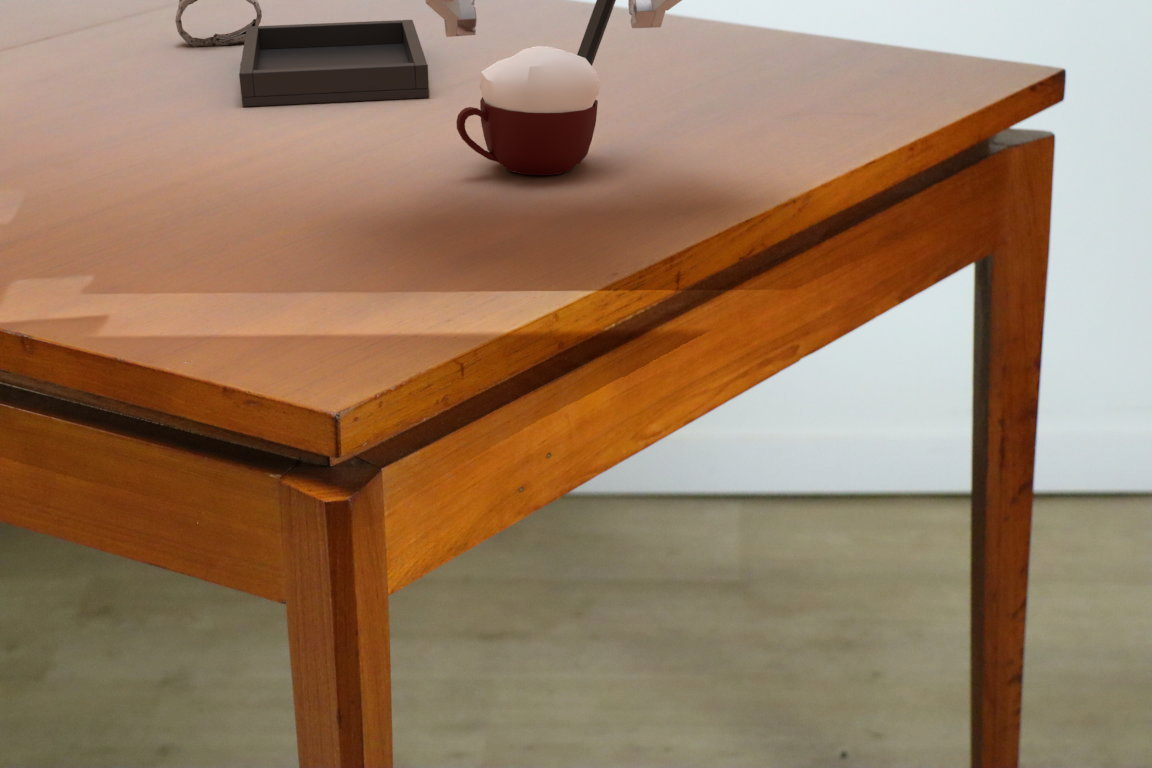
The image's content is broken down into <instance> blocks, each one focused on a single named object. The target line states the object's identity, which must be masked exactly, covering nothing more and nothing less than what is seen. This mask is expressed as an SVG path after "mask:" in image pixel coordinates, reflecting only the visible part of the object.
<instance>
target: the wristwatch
mask: <svg viewBox="0 0 1152 768" xmlns="http://www.w3.org/2000/svg"><path fill="white" fill-rule="evenodd" d="M245 1H246V2H247V3H249V4H251V5H253V8H254V10H255V12H256V13H255V14H256V17H255V18H253V19H252V20H251V22H249V23H248V24H246V25H245V26H243V27H242V28H240V29H237V30H235V31H233V32H229V33H228V32H227V33H220V34H219V33H214V34H213V36H210V37H206V38H199V37H192V36H191V34H189V33H188V32H187V31H186V30H184V28H183V24H182V15H183V13H184V12H185V10H186V9H187V7H188V6H190V5H193V4H194V3H196V2H198V0H179V1H178V5H177V10H176V15H175V20H174V21H175V26H176V29H177V32H178V34H179V36H180V37H181V38H182V39H183V40H184V41H185V42H186V43H187V44H189V45H191V46H192V47H193V48H194V47H213V46H215V47H217V46H219V47H220V46H222V47H223V46H230V45H231V46H233V45H238V44H241V43H244V42H245V37H246V31H247V27H249V26H258V27H259V26H260V23H261V21H262V17H263V13H262V12H263V11H262V8H261V6H260V4H259V2H258V0H245Z"/></svg>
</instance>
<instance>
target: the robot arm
mask: <svg viewBox="0 0 1152 768" xmlns="http://www.w3.org/2000/svg"><path fill="white" fill-rule="evenodd" d="M424 1H425V4H426V5H427V6H428V7H429V8H430V9H432V11H434V12H435V13H436V14H437V15H438V16H439V17H441V18H442V19H443V20H444V29H445V30H444V31H445V37H446V38H452V37H454V38H455V37H467V36H476V35H477V34H476V33H477V31H476V27H477V20H478V19H477V8H476V6H475V0H424ZM682 1H683V0H628V2H627V3H628V4H627V5H628V13H629V15H630V16H631V17H630V25H631V29H651V28H652V29H656V28H661V27H662V25H663V22H664V17H665V14H666V11H669V10H671V9H672V8H673V7H675V6H677V5H678V4H679V3H680V2H682Z"/></svg>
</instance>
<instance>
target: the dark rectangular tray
mask: <svg viewBox="0 0 1152 768" xmlns="http://www.w3.org/2000/svg"><path fill="white" fill-rule="evenodd" d="M243 43H244V44H243V50H242V55H241V61H240V67H239V73H238V76H239V85H240V95H241V104H242V107H243V108H246V107H247V108H248V107H266V106H283V105H284V106H288V105H305V104H306V105H307V104H326V103H327V104H329V103H346V102H347V103H350V102H366V101H368V102H369V101H390V100H408V99H409V100H410V99H411V100H412V99H428V98H430V89H429V88H430V84H429V83H430V82H429V65H428V61H427V59H426V56H425V54H424V49H423V47H422V44H421V41H420V38H419V34H418V32H417V29H416V25H415V22H414V20H413V19H402V20H401V19H396V20H395V19H394V20H371V21H370V20H369V21H368V20H367V21H347V22H345V21H344V22H326V23H325V22H323V23H322V22H321V23H301V24H297V23H296V24H277V25H275V24H274V25H273V24H272V25H259V26H249V27H247V31H246V37H245V41H244V42H243Z"/></svg>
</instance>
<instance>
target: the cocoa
mask: <svg viewBox="0 0 1152 768" xmlns="http://www.w3.org/2000/svg"><path fill="white" fill-rule="evenodd" d="M616 1H617V0H596V1H595V4H594V7H593V10H592V12H591V15H590V18H589V20H588V23H587V26H586V29H585V32H584V35H583V37H582V39H581V43H580V46H579V48H578V51H577V53H576V54H575V53H572V52H569V51H567V50H565V49H560V48H557V47H553V46H549V45H546V46H541V45H538V46H537V45H536V46H531V47H526V48H523V49H521V50H520V51H518V52H517V53H515V54H514V55H513V56H509V57H506V58H503V59H499V60H496V61H495V62H494V63H493V64H491V65H488V67H486V68H484V69H483V70H481V71H480V82H479V89H480V93H481V96H482V97H481V99H480V100H479V107H480V109H479V108H477V107H473V106H468V107H464V108H463V109H461V110H460V112H459V113H458V114H457V116H456V117H457V118H456V121H455V122H456V130H457V132H458V134H459V137H460V138H461V140H462V141H464V143H465V144H467V146H468V147H469V148H471V149H472V150H473V151H474V152H476V153H477V154H478V155H480V156H482V157H484V158H485V159H487V160H489V161H493V162H496V163H498V164H499V165H501V166H502V167H503V168H505V170H507V171H510V172H513V173H516V174H521V175H529V176H553V175H558V174H559V175H560V174H561V175H562V174H564V173H566V172H570V171H571V170H572V169H574V168H575V167H577V166H578V165H580V164H581V163H582V162H583V160H584V159H585V158H586V156H587V155H588V153H589V149H590V147H591V145H592V141H593V137H594V133H595V129H596V124H597V114H598V103H599V101H598V100H597V97H598V96H599V94H600V90H601V89H600V88H601V84H600V79H599V75H598V72H597V71H596V70H595V68H594V67H593V64H594V61H595V58H596V56H597V54H598V51H599V48H600V46H601V42H602V39H603V38H604V34H605V32H606V29H607V26H608V23H609V20H610V18H611V15H612V12H613V9H614V7H615V4H616ZM471 116H477V117H480V124H481V128H482V134H483V138H484V141H485V145H486V149H487V150H485V149H484V148H482V146H480V145H479V144H477V142H475V140H473V139H472V138H471V137H470V135H469V134H468V132H467V130H466V121H467V119H468V118H469V117H471Z"/></svg>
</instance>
